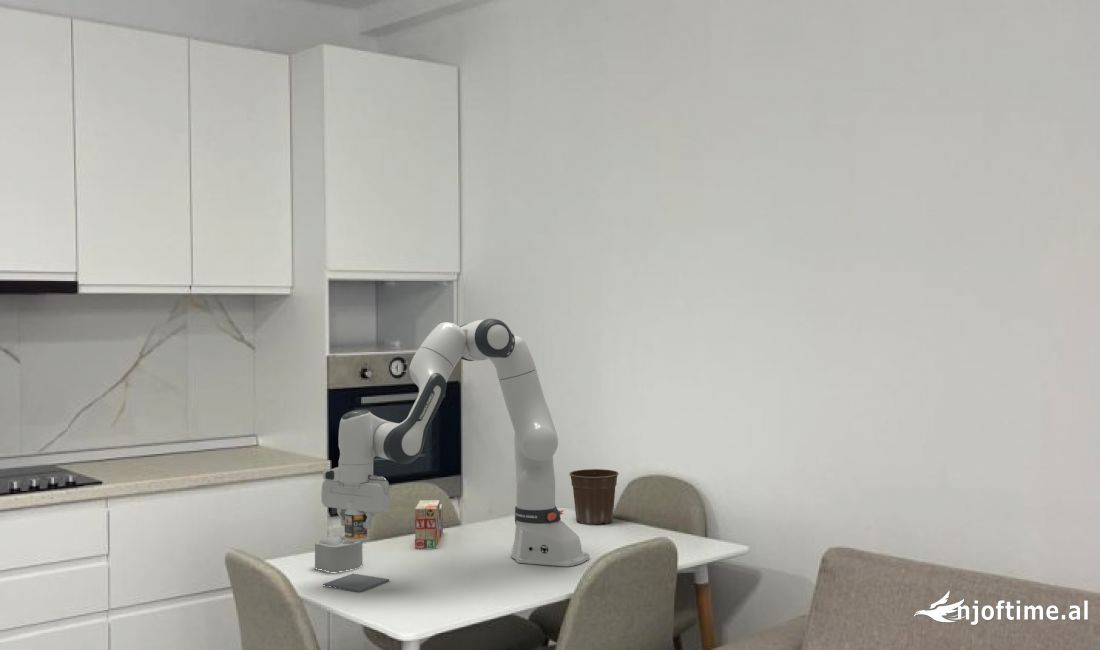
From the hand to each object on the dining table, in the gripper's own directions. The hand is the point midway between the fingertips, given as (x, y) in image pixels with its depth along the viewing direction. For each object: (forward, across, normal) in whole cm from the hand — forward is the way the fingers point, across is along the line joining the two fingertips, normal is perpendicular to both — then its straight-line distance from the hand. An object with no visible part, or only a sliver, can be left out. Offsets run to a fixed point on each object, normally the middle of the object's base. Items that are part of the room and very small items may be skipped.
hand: (356, 527), depth 278 cm
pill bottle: (+3, 0, 0) cm, 3 cm away
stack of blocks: (+15, +12, -50) cm, 53 cm away
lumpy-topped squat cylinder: (+15, +15, -12) cm, 24 cm away
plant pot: (+15, -19, -99) cm, 102 cm away
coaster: (+15, 0, 0) cm, 15 cm away
